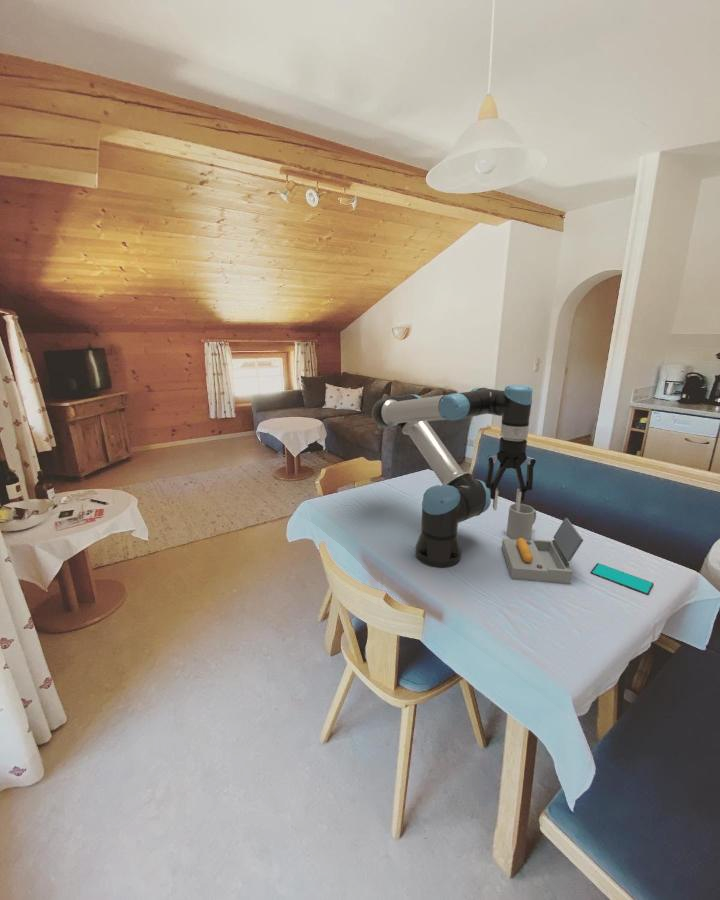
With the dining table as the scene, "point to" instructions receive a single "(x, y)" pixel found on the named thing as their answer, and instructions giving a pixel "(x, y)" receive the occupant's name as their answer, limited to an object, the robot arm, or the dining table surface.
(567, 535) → the cover
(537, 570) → the hinged lid box
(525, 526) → the mug
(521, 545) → the capsule
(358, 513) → the dining table surface
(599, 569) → the smartphone
